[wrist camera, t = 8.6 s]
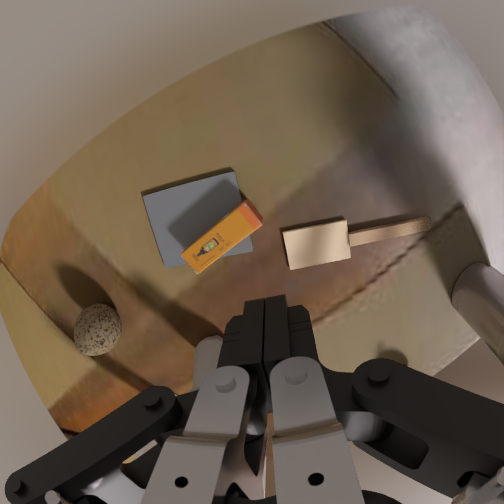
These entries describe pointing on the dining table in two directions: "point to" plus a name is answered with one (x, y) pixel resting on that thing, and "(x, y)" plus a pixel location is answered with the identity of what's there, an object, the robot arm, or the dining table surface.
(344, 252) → the turner
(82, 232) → the dining table surface
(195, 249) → the supplement box
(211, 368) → the salt shaker
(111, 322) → the decorative egg
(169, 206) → the mat
